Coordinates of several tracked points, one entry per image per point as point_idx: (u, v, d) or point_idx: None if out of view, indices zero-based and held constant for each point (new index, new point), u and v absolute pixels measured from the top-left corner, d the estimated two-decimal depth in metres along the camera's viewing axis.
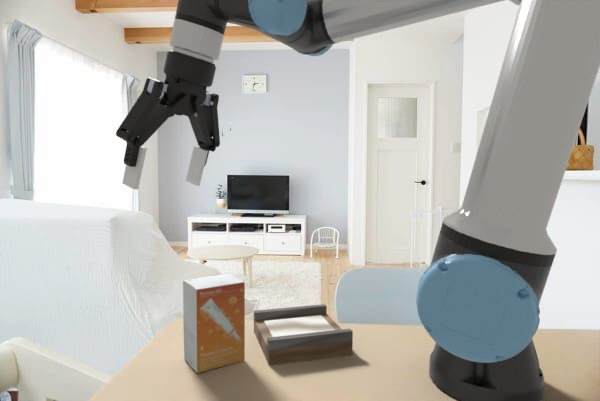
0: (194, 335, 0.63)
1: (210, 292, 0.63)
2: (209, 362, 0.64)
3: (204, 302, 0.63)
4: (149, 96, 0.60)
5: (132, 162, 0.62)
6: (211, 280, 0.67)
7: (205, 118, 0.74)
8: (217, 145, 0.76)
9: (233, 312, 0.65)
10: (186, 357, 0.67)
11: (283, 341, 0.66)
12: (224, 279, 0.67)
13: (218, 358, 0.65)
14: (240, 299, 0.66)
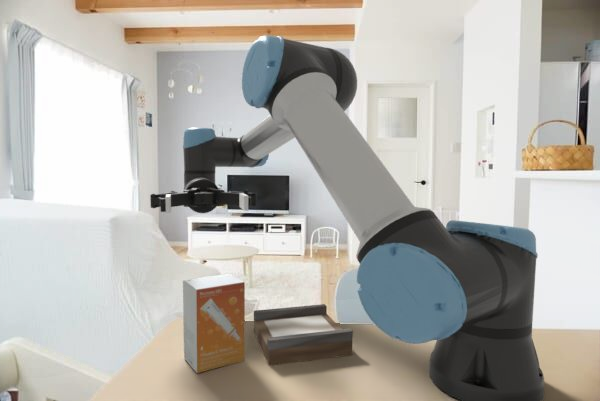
0: (194, 335, 0.63)
1: (210, 292, 0.63)
2: (209, 362, 0.64)
3: (204, 302, 0.63)
4: None
5: (161, 198, 0.76)
6: (211, 280, 0.67)
7: None
8: (253, 193, 0.84)
9: (233, 312, 0.65)
10: (186, 357, 0.67)
11: (283, 341, 0.66)
12: (224, 279, 0.67)
13: (218, 358, 0.65)
14: (240, 299, 0.66)
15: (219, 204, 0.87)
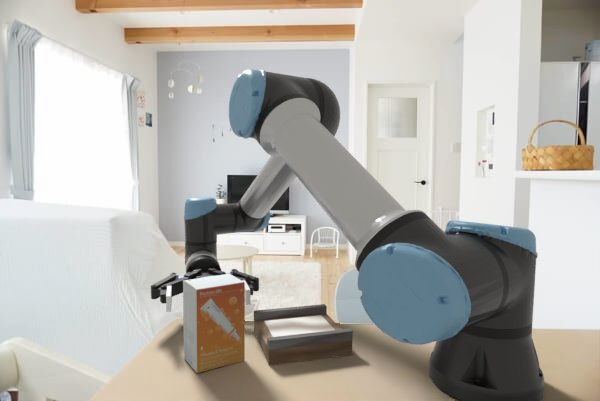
0: (194, 335, 0.63)
1: (210, 292, 0.63)
2: (209, 362, 0.64)
3: (204, 302, 0.63)
4: None
5: (162, 293, 0.75)
6: (211, 280, 0.67)
7: None
8: (255, 278, 0.83)
9: (233, 312, 0.65)
10: (186, 357, 0.67)
11: (283, 341, 0.66)
12: (224, 279, 0.67)
13: (218, 358, 0.65)
14: (240, 299, 0.66)
15: None
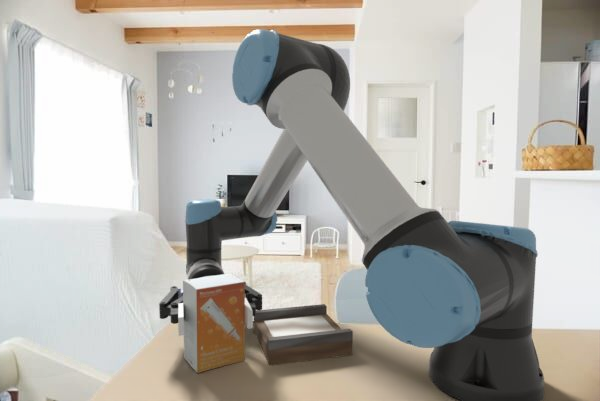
0: (194, 335, 0.63)
1: (210, 291, 0.63)
2: (209, 362, 0.64)
3: (204, 301, 0.63)
4: None
5: (173, 313, 0.64)
6: (211, 279, 0.67)
7: None
8: (258, 295, 0.72)
9: (233, 312, 0.65)
10: (186, 357, 0.67)
11: (283, 341, 0.66)
12: (224, 279, 0.67)
13: (218, 358, 0.65)
14: (240, 299, 0.66)
15: None
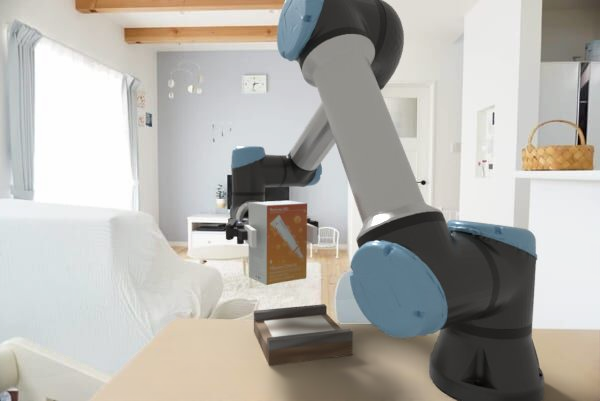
0: (263, 250, 0.67)
1: (278, 209, 0.67)
2: (277, 276, 0.68)
3: (273, 217, 0.67)
4: None
5: (242, 230, 0.69)
6: (275, 202, 0.71)
7: None
8: (315, 221, 0.76)
9: (297, 230, 0.70)
10: (252, 275, 0.71)
11: (283, 341, 0.66)
12: None
13: (284, 273, 0.69)
14: (303, 219, 0.70)
15: None
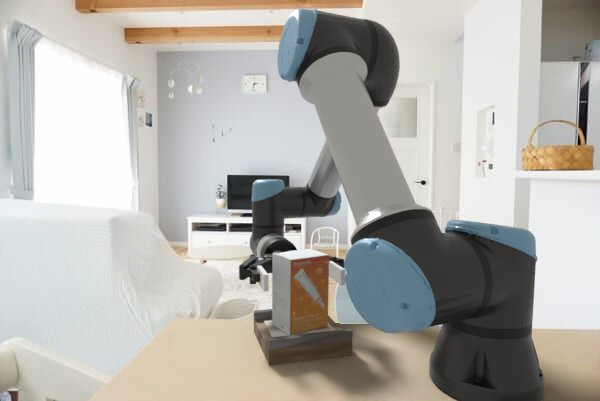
0: (286, 302, 0.70)
1: (301, 262, 0.70)
2: (300, 326, 0.71)
3: (296, 271, 0.69)
4: None
5: (255, 273, 0.72)
6: (298, 253, 0.74)
7: None
8: (341, 259, 0.80)
9: (319, 282, 0.72)
10: (275, 323, 0.74)
11: (283, 341, 0.66)
12: (309, 252, 0.74)
13: (306, 323, 0.71)
14: (325, 270, 0.73)
15: None
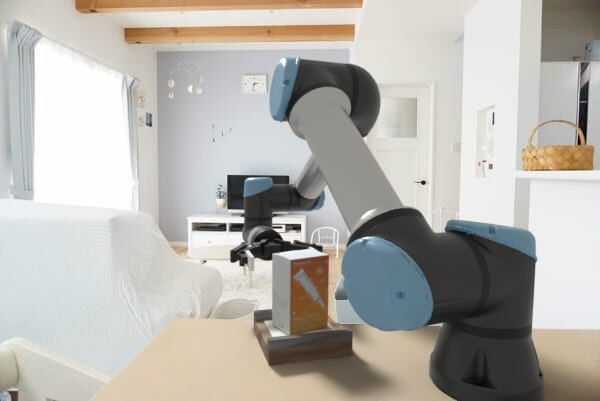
0: (286, 302, 0.70)
1: (301, 262, 0.70)
2: (300, 326, 0.71)
3: (296, 271, 0.69)
4: None
5: (243, 256, 0.84)
6: (298, 253, 0.74)
7: None
8: (320, 246, 0.92)
9: (319, 282, 0.72)
10: (275, 323, 0.74)
11: (283, 341, 0.66)
12: (309, 252, 0.74)
13: (306, 323, 0.71)
14: (325, 270, 0.73)
15: None
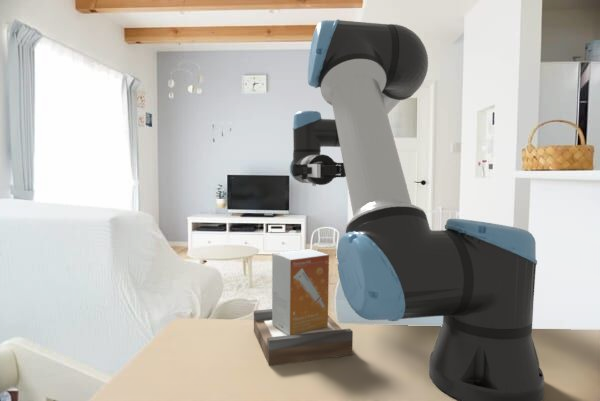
0: (286, 302, 0.70)
1: (301, 262, 0.70)
2: (300, 326, 0.71)
3: (296, 271, 0.69)
4: None
5: (307, 167, 0.88)
6: (298, 253, 0.74)
7: None
8: None
9: (319, 282, 0.72)
10: (275, 323, 0.74)
11: (283, 341, 0.66)
12: (309, 252, 0.74)
13: (306, 323, 0.71)
14: (325, 270, 0.73)
15: (342, 175, 0.99)
